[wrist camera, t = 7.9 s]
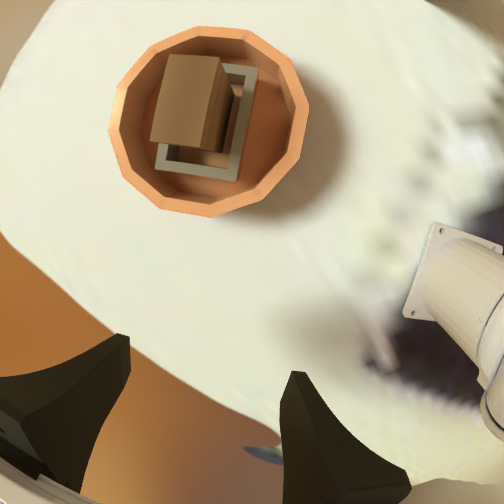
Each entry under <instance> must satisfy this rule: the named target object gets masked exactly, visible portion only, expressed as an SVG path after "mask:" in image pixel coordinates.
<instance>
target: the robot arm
mask: <svg viewBox="0 0 504 504" xmlns="http://www.w3.org/2000/svg"><path fill="white" fill-rule="evenodd" d="M441 228H442V231H441V233H440V232H439V231H440V229H441ZM492 248H493V250H492ZM502 252H503V248H502V246H501V245H498V244H496V243H493V242H491V241H488V240H485V239H483V238H480V237H477V236H474V235H472V234H469V233H466V232H463V231H460V230H458V229H455V228H452V227H449V226H446V225H443V224H440V223H437V222H435V223H433V224H432V225H431V227H430V231H429V234H428V238H427V241H426V244H425V248H424V251H423V254H422V257H421V261H420V264H419V267H418V270H417V273H416V276H415V278H414V281H413V284H412V287H411V290H410V292H409V295H408V298H407V300H406V303H405V305H404V308H403V311H402V314H403V315H404V316H405V317H406V318H413V319H422V320H430V321H437V322H438V323H439V324H440V326H441V327H442V328H443V329H444V330H445V331H446V332H447V333H448V334H449V335H450V336H451V337H452V338H453V340H454V341H455V342H456V343H457V344H458V345H459V346H460V347H461V348H462V350H463V351H464V352H465V353H466V354H467V355H468V356H469V357H470V359H471V360H472V361H473V362H474V363H475V364H476V366H477V367H478V368H479V376H478V378H477V381H478V382H479V383H480V385H481V386H482V387H483V389H484V390H485V392H484V394H483V396H482V399H481V404H480V409H481V415H482V418H483V420H484V422H485V424H486V426H487V427H488V429H489V430H490V431H491V432H492V433H493V435H494V436H496V437H497V438H498V439H500V440H501V441H503V442H504V256H503V255H502ZM412 311H414V312H413V313H412ZM411 313H412V314H411ZM130 372H131V363H130V337H129V336H125V335H122V334H119V333H117V334H115V335H113V336H112V337H110V338H108V339H107V340H105V341H103V342H102V343H100V344H98V345H97V346H95V347H93V348H91V349H89V350H88V351H86V352H84V353H82V354H80V355H78V356H76V357H74V358H72V359H70V360H68V361H66V362H63V363H61V364H58V365H56V366H53V367H50V368H47V369H44V370H40V371H37V372H33V373H28V374H23V375H17V376H9V377H0V504H101V503H99V502H97V501H94V500H92V499H90V498H87V497H85V496H83V495H81V494H80V491H81V487H82V483H83V479H84V474H85V471H86V468H87V465H88V461H89V458H90V455H91V453H92V450H93V447H94V444H95V441H96V439H97V437H98V434H99V432H100V429H101V427H102V425H103V423H104V421H105V420H106V418H107V416H108V414H109V413H110V411H111V409H112V408H113V406H114V404H115V403H116V401H117V399H118V397H119V396H120V394H121V392H122V390H123V389H124V386H125V384H126V382H127V380H128V377H129V374H130ZM280 432H281V442H282V451H283V461H284V484H283V502H282V504H398V503H400V502H401V501H402V500H403V499H404V498H406V497H407V496H408V495H409V493H410V491H411V489H412V488H411V484H410V481H409V478H408V476H407V473H406V471H405V470H404V469H402V468H400V467H398V466H396V465H394V464H392V463H390V462H388V461H387V460H385V459H383V458H382V457H380V456H379V455H377V454H376V453H374V452H373V451H371V450H370V449H369V448H367V447H366V446H365V445H364V444H363V443H361V442H360V441H359V440H358V439H357V438H355V437H354V436H353V435H352V434H351V433H350V432H349V431H348V430H347V429H346V428H345V427H344V426H343V425H342V423H341V422H340V421H339V420H338V419H337V418H336V416H335V415H334V414H333V413H332V411H331V410H330V409H329V407H328V406H327V405H326V403H325V402H324V400H323V399H322V397H321V396H320V394H319V393H318V391H317V390H316V388H315V387H314V385H313V383H312V382H311V380H310V379H309V377H308V375H307V374H306V372H300V371H292V372H291V374H290V377H289V380H288V383H287V385H286V388H285V391H284V393H283V396H282V398H281V401H280Z"/></svg>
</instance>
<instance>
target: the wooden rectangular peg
mask: <svg viewBox="0 0 504 504" xmlns="http://www.w3.org/2000/svg"><path fill="white" fill-rule="evenodd" d="M234 95H235V94H234V92H233V89H232V87H231V84H230V82H229V79H228V77H227V74H226V72H225V70H224V67H223V65H222V62H221V60H220V58H219V57H210V56H198V55H180V54H169V58H168V61H167V65H166V69H165V72H164V76H163V80H162V84H161V88H160V93H159V97H158V101H157V106H156V111H155V115H154V120H153V125H152V130H151V136H150V141H152V142H157V143H163V144H168V145H174V146H179V147H184V148H189V149H196V150H203V151H209V152H215V153H223V148H224V143H225V138H226V133H227V128H228V123H229V118H230V113H231V109H232V104H233V100H234Z"/></svg>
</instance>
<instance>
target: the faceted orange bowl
mask: <svg viewBox="0 0 504 504" xmlns="http://www.w3.org/2000/svg"><path fill="white" fill-rule="evenodd" d="M169 54H180V55H198V56H210V57H219V58H220V60H221V62H222V65H223V67H224V70H225V72H226V74H227V77H228V79H229V82H230V84H231V87H232V89H233V92H234V94H235V95H234V100H233V104H232V109H231V113H230V118H229V123H228V128H227V133H226V138H225V143H224V148H223V153H215V152H209V151H203V150H196V149H189V148H184V147H179V146H174V145H168V144H163V143H157V142H152V141H150V136H151V130H152V125H153V120H154V115H155V111H156V106H157V101H158V97H159V93H160V88H161V84H162V80H163V76H164V72H165V69H166V65H167V61H168V58H169ZM309 108H310V107H309V104H308V101H307V98H306V96H305V93H304V91H303V88H302V86H301V83H300V81H299V78H298V76H297V73H296V71H295V69H294V66H293V64H292V62H291V60H290V59H289V58H288V57H287V56H285V55H284V54H283V53H281V52H280V51H279V50H277V49H276V48H274V47H273V46H272V45H270V44H269V43H267V42H266V41H264V40H263V39H261V38H260V37H258V36H257V35H255V34H254V33H252V32H251V31H248V30H243V29H234V28H223V27H208V26H198V27H197V26H196V27H194V28H191V29H188V30H186V31H183V32H181V33H179V34H176V35H174V36H171V37H169V38H167V39H165V40H162V41H160V42H158V43H156V44H154V45H152V46H151V47H149V48H148V49H147V50H146V51H145V53H144V54H143V55H142V56H141V57H140V58H139V59H138V61H137V62H136V63H135V64H134V65H133V67H132V68H131V69H130V70H129V72H128V73H127V74H126V75H125V77H124V78H123V79H122V80H121V82H120V83H119V84H118V87H117V91H116V96H115V100H114V105H113V110H112V114H111V120H110V125H109V131H108V133H109V136H110V140H111V143H112V146H113V149H114V152H115V155H116V158H117V161H118V164H119V167H120V170H121V173H122V176H123V178H124V179H126V180H127V181H128V182H129V183H130V184H131V185H132V186H134V187H135V188H136V189H137V190H138V191H139V192H141V193H142V194H143V195H144V196H145V197H146V198H148V199H149V200H150V201H151V202H152V203H153V204H155V205H156V206H157V207H158V208H159V209H163V210H169V211H175V212H180V213H186V214H192V215H197V216H203V217H208V218H212V217H215V216H217V215H220V214H223V213H226V212H229V211H232V210H235V209H237V208H240V207H243V206H246V205H249V204H252V203H255V202H258V201H261V200H262V199H264V198H265V197H266V195H267V194H268V193H269V192H270V191H271V190H272V189H273V188H274V186H275V185H276V184H277V183H278V182H279V181H280V180H281V179H282V178H283V176H284V175H285V174H286V173H287V172H288V171H289V170H290V169H291V168H292V167H293V165H294V164H295V163H296V162H297V161H298V160H299V158H300V154H301V149H302V144H303V139H304V134H305V129H306V123H307V118H308V113H309Z"/></svg>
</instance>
